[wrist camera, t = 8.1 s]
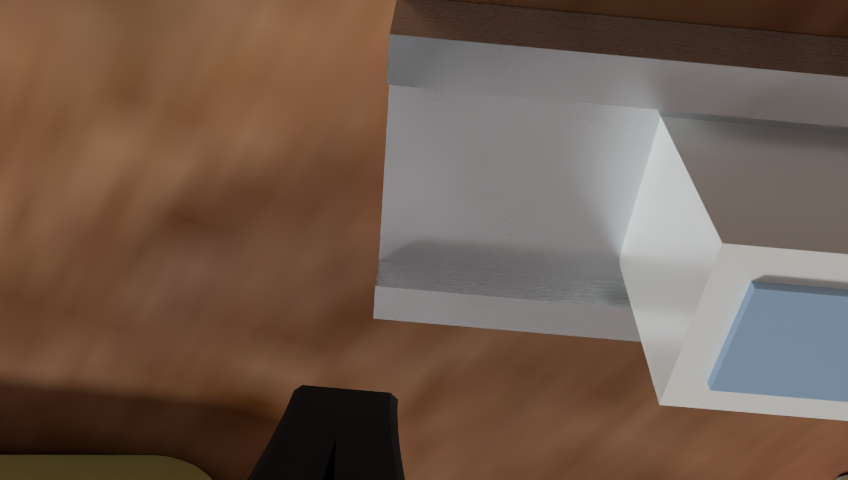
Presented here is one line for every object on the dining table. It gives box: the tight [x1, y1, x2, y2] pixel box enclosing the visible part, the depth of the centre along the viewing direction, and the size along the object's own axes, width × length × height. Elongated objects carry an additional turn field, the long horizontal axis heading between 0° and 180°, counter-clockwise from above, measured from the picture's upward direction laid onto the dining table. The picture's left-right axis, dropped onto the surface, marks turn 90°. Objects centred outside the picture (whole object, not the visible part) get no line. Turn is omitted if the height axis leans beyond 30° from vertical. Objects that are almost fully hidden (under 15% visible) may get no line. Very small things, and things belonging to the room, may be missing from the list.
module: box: [618, 116, 848, 421], centre depth 15 cm, size 4×5×5 cm
